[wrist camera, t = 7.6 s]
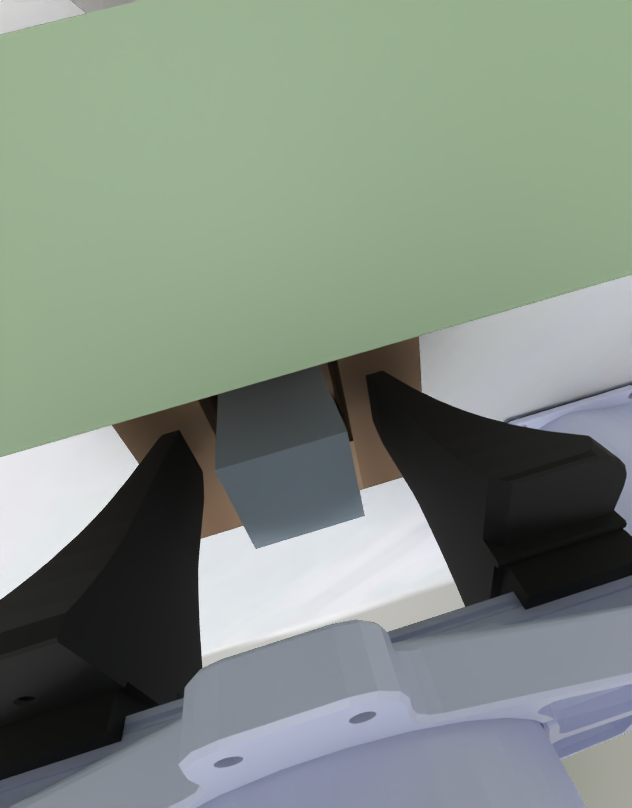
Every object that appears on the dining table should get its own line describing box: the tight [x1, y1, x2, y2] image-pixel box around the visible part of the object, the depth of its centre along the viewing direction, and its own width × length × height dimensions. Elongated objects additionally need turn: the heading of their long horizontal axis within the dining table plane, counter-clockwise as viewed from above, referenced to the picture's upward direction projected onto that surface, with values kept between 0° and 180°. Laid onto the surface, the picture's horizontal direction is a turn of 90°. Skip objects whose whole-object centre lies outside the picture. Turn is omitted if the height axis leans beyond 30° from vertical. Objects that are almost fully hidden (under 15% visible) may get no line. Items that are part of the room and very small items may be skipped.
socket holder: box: [0, 0, 632, 538], centre depth 12 cm, size 18×14×10 cm
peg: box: [215, 365, 365, 549], centre depth 13 cm, size 4×4×7 cm
